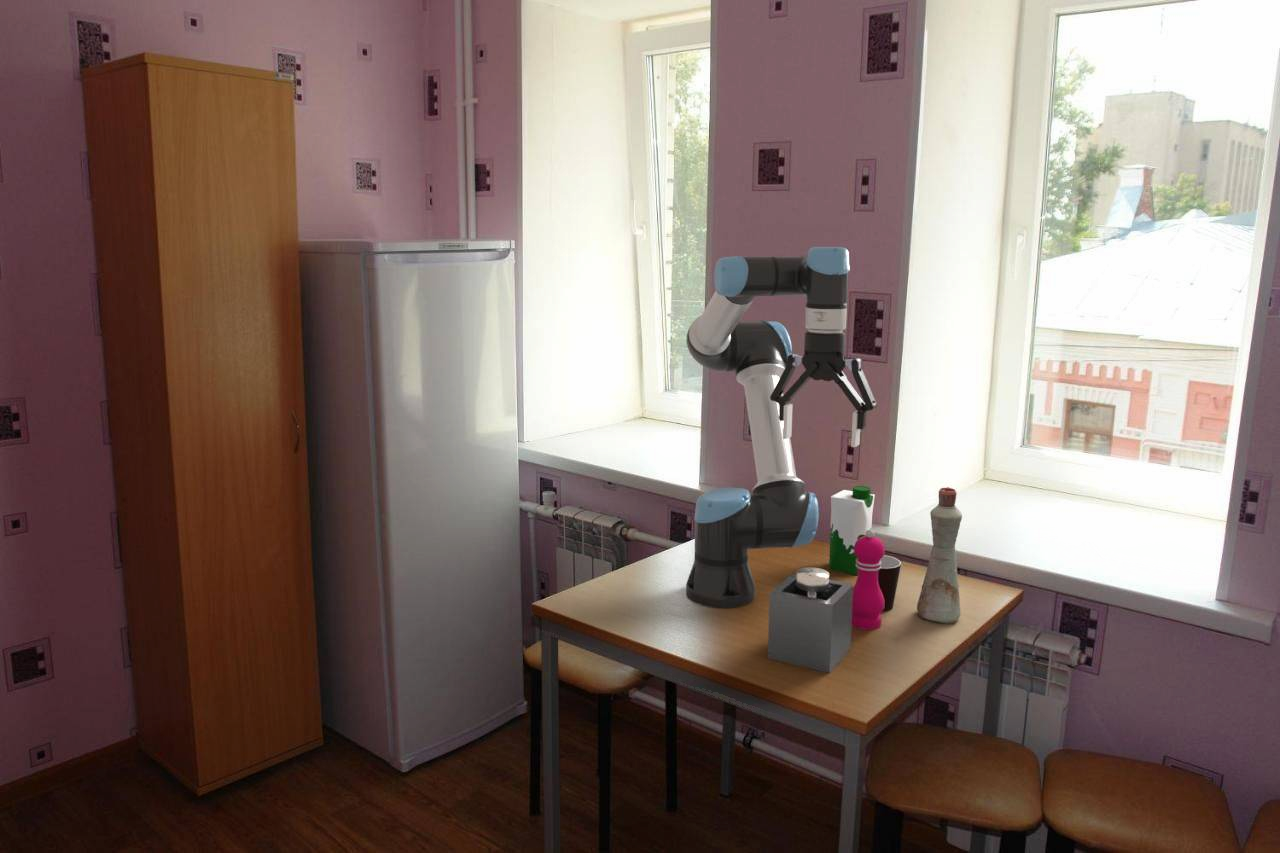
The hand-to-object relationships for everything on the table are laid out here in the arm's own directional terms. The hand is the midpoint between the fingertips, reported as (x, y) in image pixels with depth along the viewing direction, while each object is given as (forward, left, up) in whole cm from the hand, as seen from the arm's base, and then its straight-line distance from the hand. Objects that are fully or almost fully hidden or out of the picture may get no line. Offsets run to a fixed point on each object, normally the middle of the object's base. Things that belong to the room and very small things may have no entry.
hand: (820, 441), depth 181 cm
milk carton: (-5, +39, -39) cm, 55 cm away
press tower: (+3, -10, -39) cm, 40 cm away
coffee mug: (+7, +21, -39) cm, 45 cm away
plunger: (+3, -10, -37) cm, 39 cm away
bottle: (+20, +20, -39) cm, 48 cm away
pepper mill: (+8, +9, -39) cm, 41 cm away
